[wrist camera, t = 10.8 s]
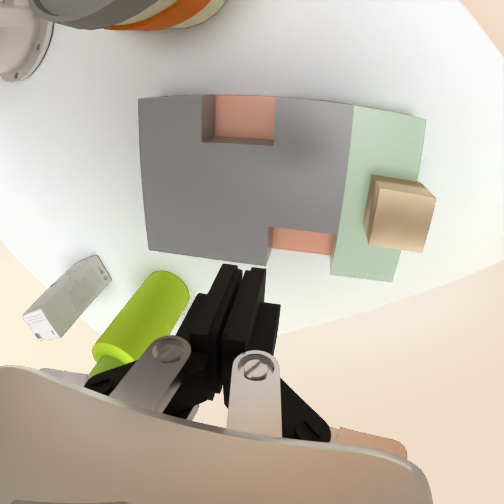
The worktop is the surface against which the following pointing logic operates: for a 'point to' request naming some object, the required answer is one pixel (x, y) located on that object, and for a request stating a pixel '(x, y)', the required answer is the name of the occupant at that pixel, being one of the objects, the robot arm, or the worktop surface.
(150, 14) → the reusable coffee cup
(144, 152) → the board
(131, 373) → the robot arm
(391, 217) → the maple block
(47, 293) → the skincare box
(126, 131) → the worktop surface
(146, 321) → the soap dispenser
